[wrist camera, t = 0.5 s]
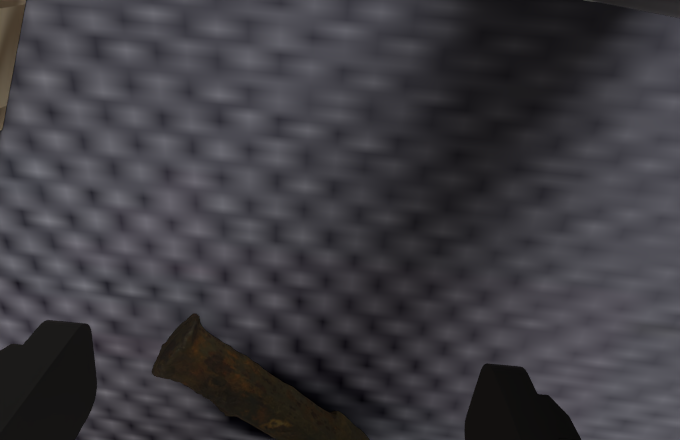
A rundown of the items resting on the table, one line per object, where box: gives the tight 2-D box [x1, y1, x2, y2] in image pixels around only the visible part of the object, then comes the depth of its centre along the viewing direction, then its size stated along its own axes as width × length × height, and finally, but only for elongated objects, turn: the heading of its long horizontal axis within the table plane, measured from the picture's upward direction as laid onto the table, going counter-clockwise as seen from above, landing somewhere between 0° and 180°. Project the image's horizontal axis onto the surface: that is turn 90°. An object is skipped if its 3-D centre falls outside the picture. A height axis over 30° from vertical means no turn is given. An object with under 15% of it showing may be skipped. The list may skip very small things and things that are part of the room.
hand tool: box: [152, 314, 370, 440], centre depth 35 cm, size 19×4×5 cm, turn 45°
